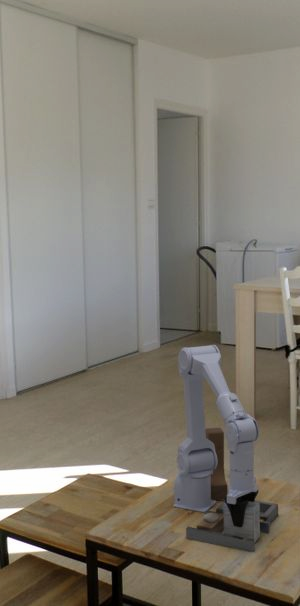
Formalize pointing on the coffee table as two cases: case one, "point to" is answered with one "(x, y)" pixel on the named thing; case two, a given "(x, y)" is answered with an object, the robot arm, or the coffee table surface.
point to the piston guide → (225, 536)
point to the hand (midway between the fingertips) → (241, 522)
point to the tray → (266, 510)
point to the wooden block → (218, 464)
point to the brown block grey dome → (212, 522)
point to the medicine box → (250, 522)
